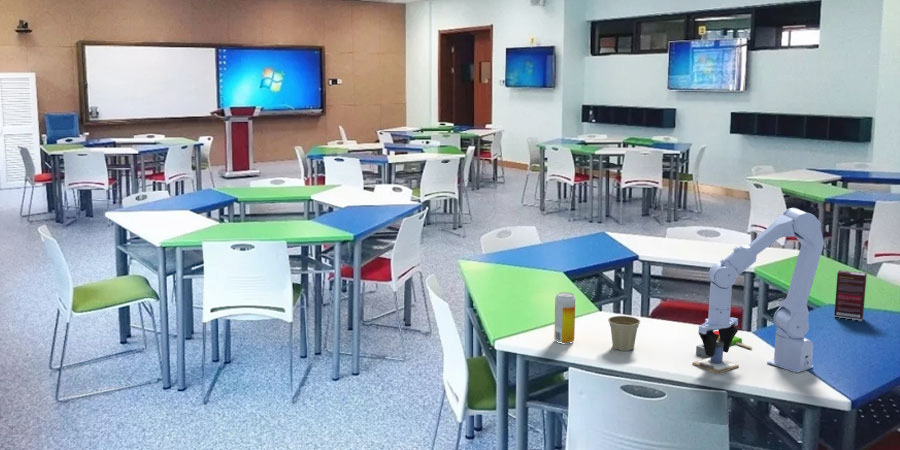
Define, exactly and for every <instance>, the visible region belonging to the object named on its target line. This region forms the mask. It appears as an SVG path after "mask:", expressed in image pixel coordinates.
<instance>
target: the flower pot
mask: <svg viewBox="0 0 900 450" xmlns="http://www.w3.org/2000/svg"><path fill="white" fill-rule="evenodd" d="M607 321H608V323H609V327H610V332H611V341H612V348H614V350H619V351H621V352H629V351H631V350H634V349H635V343H636V338H637V337H636V336H637V331H638V328H639V326H640V323H641V319H639V318H636V317H633V316H629V315H628V316H627V315H616V316H611V317H609V318H608V320H607Z"/></svg>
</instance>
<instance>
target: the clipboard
mask: <svg viewBox="0 0 900 450" xmlns="http://www.w3.org/2000/svg"><path fill="white" fill-rule="evenodd" d="M710 359H711V357H709V358H707V357H705V358H703V359H699V360H696V361H693V362H692V363H691V364H692V365H694V366H695V367H698V368H700V369H701V368H702V369H704V370H706V371H709V372H712V373H715V374H721V373H724V372H727V371H730V370H734V369H737V368H739V367H740V365H739V364H737V363H734V362H731V361H729V360H725V359H722V363H721V364H715V363H712V362H710Z"/></svg>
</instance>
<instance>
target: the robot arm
mask: <svg viewBox="0 0 900 450" xmlns="http://www.w3.org/2000/svg"><path fill="white" fill-rule="evenodd" d="M820 221H821V220H819V219H818V218H817V216H816V215H814V213H813V214H812V213H810V212H806V211H804V210H801V209H799V208H797V207H791V208H790V207H789V208H787V209H786V210H785V211H784V212H783V213H782V214H780V215H778V216H777V217H776V219H775V220H774V221H773V222H772V223H771V224H770V225H769V226H768V227H767V228H765V230H763V231H762V232H761V233H760V234H759V235H758V236H757V237H755V239H754V240H752V242H750V243H749V244H748V245H740V246H739V247H738V246H735V247H734V248H733V249H732V250H733V252H731V253H730V254H729V255H728V256H727V257H726V258H724V259H721V260H719V263H715V264H713V265H712V266H710V268H709V271H708V272H707V277H708V279H709V281H710V285H709V287H710V288H709V297H708V298H709V299H708V300H709V301H708V317H707V318H705V321H704V323H702V324H701V325H699V326H698V335H699V337H700V339H701V342H702V344H704V349H705V353H706V355H707V356H710V357H713V356H714V351H715V345H716V342H717V339H718V337H719V336H720V340H722V341H724V346H723V353H729V350H730V347H731V346H732V345H731V342H732V340H733V338H734V336H736V334H737V333H738V332H739V328H738V327H736V326H738V325H739V318H736V317H731V307H732V306H731V305H732V294H733V293H732V289H733V286H734V285H735V284H736V281H737V278H738V277H739V276H740V275H741V274H742V273H743V272H745V271H746V270H747V269H749V268H750V267H751V266H752V265H753V264H755V263H756V261H757V256H758V254H760V253H762V252H763V251H764V250H765V249H767V248H768V247H770V246H771V245H772V244H774V243H776V241H778V240H779V239H780V238H791V237H795V238H796V240H797V241H798V242H799V243H800V249H799V253H798V255H797V258H796V259H797V260H796V263H795V266H794V270H793V273H792V277H791V280H790V284H789V287H788V291H787V295H786V298H785V299H783V300H782V301H781V302H780V305H779V307H778V309H777V310H776V311H775V312H774V314H773V317H772V318H773V322H774V324H775V326H776V330H775V341H774V343H775V344H774V353H773V354H774V356H773V359H770V360H767V362H766V363H767V364H768V365H769V364H770V365H773V366H776V367H778V368H781V369H784V370H787V371H791V372H792V373H797V374H798V373H801V372H803V371H806V370H809V369H812V368H814V365H813V357H814V343H813V341H812V340H811V339H808V338H806V336H805V335H807V333H808V332H809V329H810V323H809V316H810V313H809V309H808V301H809V298H810V293H811V291H812V286H813V283H814V279H815V276H816V274H817V273H816V272H817V269H818V266H819V263H820V262H819V261H820V258H821V257H822V256H821V255H822V252H823V249H824V246H825V241H824V237H823V232H822V229H821V227H822V223H821V222H820ZM714 331H719V335H717V334H714Z"/></svg>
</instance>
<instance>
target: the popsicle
mask: <svg viewBox="0 0 900 450" xmlns="http://www.w3.org/2000/svg"><path fill="white" fill-rule="evenodd" d="M713 332H714V334H717V335H719V331H718V330H714V331H713ZM717 340H720V336H719V337H718V339H717ZM734 345H738V346H741V347H744V348H747V349H750V350H752V349H753V347H752V346H751V345H746V344H744V343H743V338H741V337H738V336H736V335H735V336H734V338H733V340H732V342H731V345H730V346H734Z"/></svg>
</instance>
